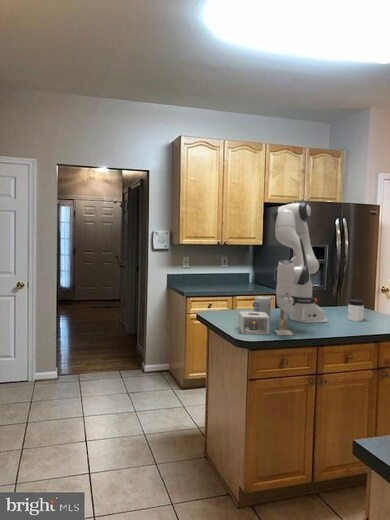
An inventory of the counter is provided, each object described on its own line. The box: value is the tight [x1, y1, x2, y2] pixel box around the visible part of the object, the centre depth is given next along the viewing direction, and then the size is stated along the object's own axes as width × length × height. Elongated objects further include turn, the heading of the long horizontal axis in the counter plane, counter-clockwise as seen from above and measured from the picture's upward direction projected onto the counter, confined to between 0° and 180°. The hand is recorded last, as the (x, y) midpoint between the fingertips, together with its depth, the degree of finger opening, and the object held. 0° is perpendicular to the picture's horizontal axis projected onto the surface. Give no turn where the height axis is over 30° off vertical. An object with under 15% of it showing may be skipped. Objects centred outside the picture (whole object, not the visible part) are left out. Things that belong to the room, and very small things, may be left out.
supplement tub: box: [253, 295, 272, 324], centre depth 237 cm, size 10×10×15 cm
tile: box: [274, 329, 294, 337], centre depth 212 cm, size 8×8×1 cm
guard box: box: [238, 310, 271, 335], centre depth 217 cm, size 14×14×9 cm
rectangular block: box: [278, 308, 288, 330], centre depth 212 cm, size 3×3×12 cm
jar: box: [347, 299, 365, 322], centre depth 251 cm, size 9×8×12 cm
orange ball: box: [250, 321, 257, 330], centre depth 217 cm, size 4×4×4 cm
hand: (283, 318), depth 212 cm, fingers closed on rectangular block, 3 cm apart
